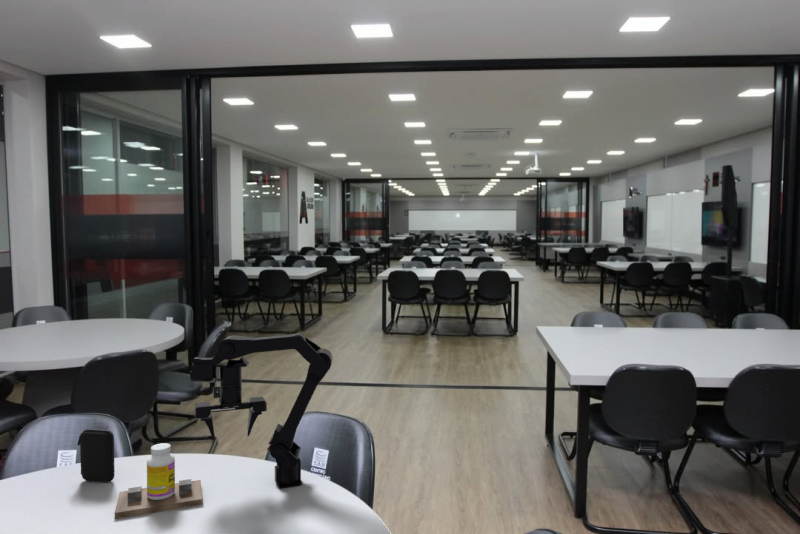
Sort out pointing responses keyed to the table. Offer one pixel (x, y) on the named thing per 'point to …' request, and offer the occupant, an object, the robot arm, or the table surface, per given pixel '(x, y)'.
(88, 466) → the carrying case or bag
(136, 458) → the table surface
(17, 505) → the table surface
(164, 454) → the supplement bottle
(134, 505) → the board
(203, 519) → the table surface
